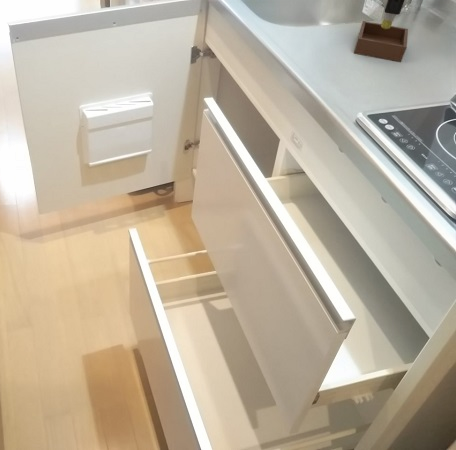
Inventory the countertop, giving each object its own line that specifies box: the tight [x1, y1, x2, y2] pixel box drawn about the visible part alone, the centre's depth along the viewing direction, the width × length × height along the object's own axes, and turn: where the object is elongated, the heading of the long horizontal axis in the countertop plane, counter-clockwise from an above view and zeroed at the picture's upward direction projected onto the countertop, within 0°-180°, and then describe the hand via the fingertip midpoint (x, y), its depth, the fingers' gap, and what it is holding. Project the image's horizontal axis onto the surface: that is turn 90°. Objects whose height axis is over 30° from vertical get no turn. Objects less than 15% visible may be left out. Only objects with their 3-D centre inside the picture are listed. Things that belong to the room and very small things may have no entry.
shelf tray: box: [353, 20, 409, 63], centre depth 120 cm, size 10×11×4 cm
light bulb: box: [381, 0, 410, 30], centre depth 115 cm, size 6×6×10 cm
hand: (392, 7), depth 115 cm, fingers closed on light bulb, 5 cm apart
